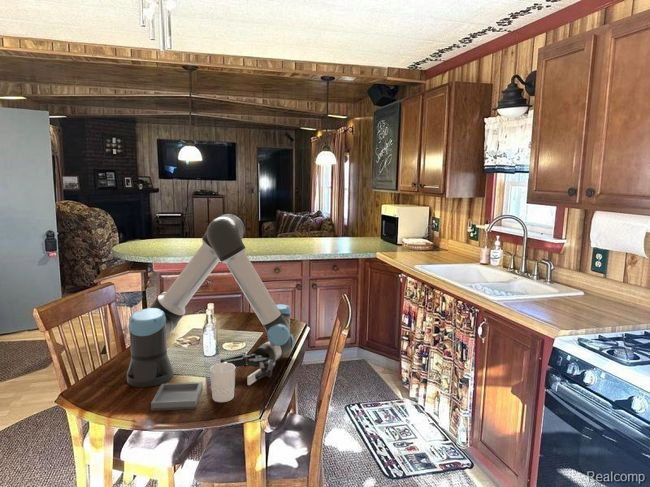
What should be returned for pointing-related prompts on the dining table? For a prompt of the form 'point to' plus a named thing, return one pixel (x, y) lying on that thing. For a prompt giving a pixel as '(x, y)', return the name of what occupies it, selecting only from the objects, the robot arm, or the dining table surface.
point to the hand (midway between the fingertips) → (230, 377)
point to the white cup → (222, 381)
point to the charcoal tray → (177, 396)
